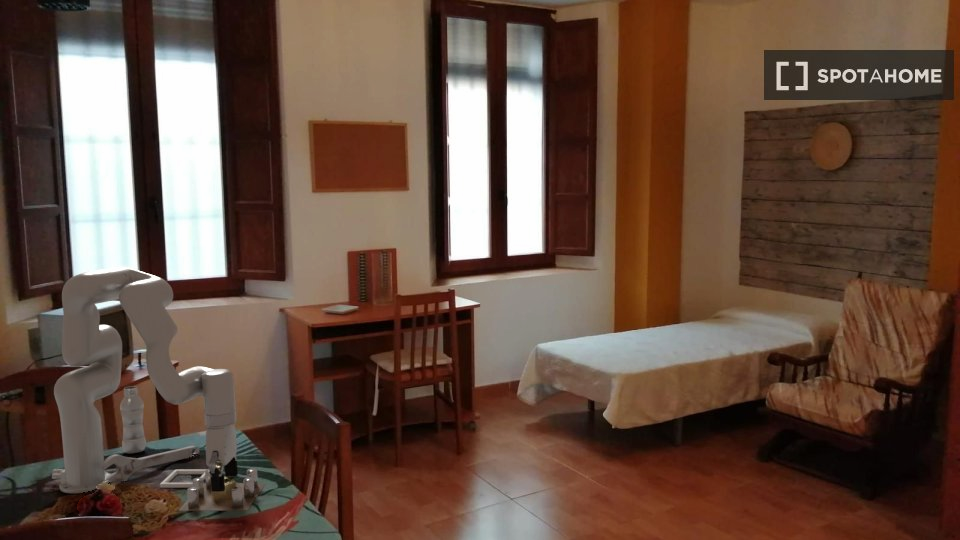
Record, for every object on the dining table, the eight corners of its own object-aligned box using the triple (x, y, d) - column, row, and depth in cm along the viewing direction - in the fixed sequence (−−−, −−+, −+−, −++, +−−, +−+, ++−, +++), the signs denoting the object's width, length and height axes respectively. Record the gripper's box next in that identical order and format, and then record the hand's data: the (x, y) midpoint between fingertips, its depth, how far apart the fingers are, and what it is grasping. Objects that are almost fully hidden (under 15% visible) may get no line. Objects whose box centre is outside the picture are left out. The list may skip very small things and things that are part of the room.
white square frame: (160, 491, 200) (160, 483, 199) (175, 476, 209) (175, 469, 209) (197, 490, 200) (196, 483, 199) (210, 476, 209) (210, 469, 209)
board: (178, 514, 186) (177, 510, 186) (203, 486, 202) (203, 483, 202) (246, 514, 186) (246, 510, 186) (266, 486, 202) (266, 483, 202)
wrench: (199, 464, 226) (104, 488, 201) (195, 463, 227) (100, 486, 202) (200, 437, 226) (105, 458, 200) (196, 436, 227) (101, 456, 201)
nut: (207, 500, 191) (206, 485, 191) (215, 491, 197) (214, 476, 196) (232, 500, 191) (232, 485, 191) (240, 491, 197) (239, 476, 196)
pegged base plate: (182, 508, 187) (181, 491, 186) (204, 484, 201) (203, 468, 201) (245, 508, 186) (244, 491, 186) (262, 484, 201) (262, 468, 200)
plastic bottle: (130, 448, 232) (126, 384, 229) (151, 448, 231) (147, 385, 228) (117, 455, 225) (113, 390, 223) (138, 456, 225) (134, 391, 222)
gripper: (217, 408, 200) (222, 470, 202) (192, 430, 183) (197, 497, 185) (246, 407, 200) (250, 470, 202) (223, 429, 183) (228, 497, 185)
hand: (225, 483), depth 193 cm, fingers open, 9 cm apart
